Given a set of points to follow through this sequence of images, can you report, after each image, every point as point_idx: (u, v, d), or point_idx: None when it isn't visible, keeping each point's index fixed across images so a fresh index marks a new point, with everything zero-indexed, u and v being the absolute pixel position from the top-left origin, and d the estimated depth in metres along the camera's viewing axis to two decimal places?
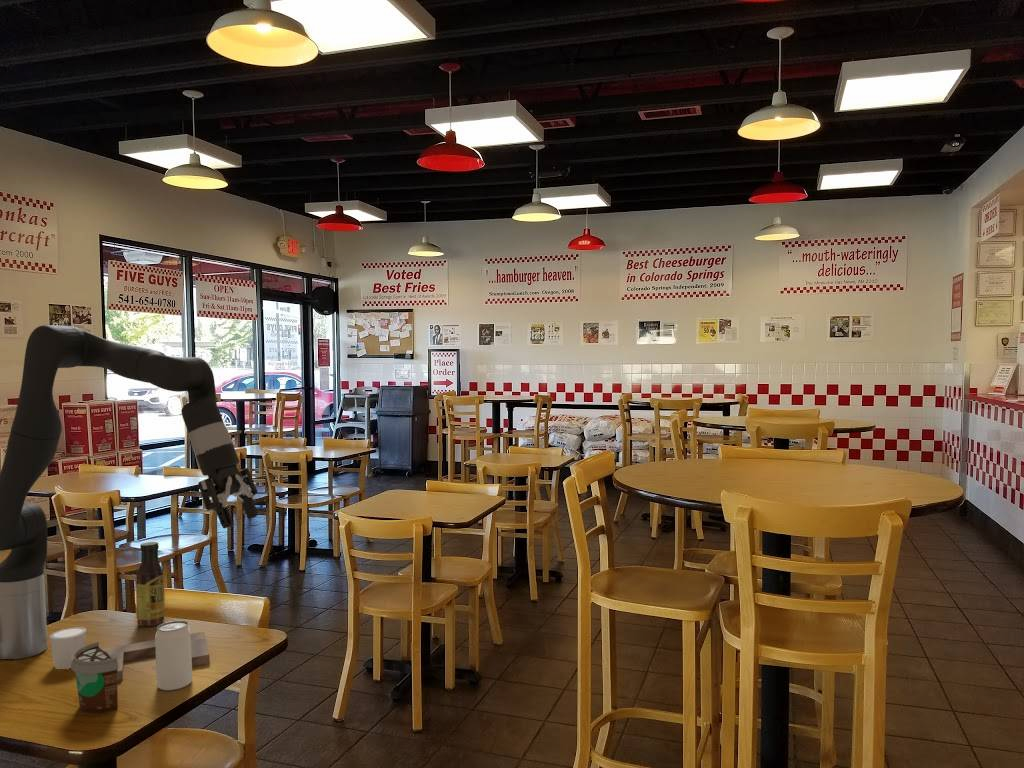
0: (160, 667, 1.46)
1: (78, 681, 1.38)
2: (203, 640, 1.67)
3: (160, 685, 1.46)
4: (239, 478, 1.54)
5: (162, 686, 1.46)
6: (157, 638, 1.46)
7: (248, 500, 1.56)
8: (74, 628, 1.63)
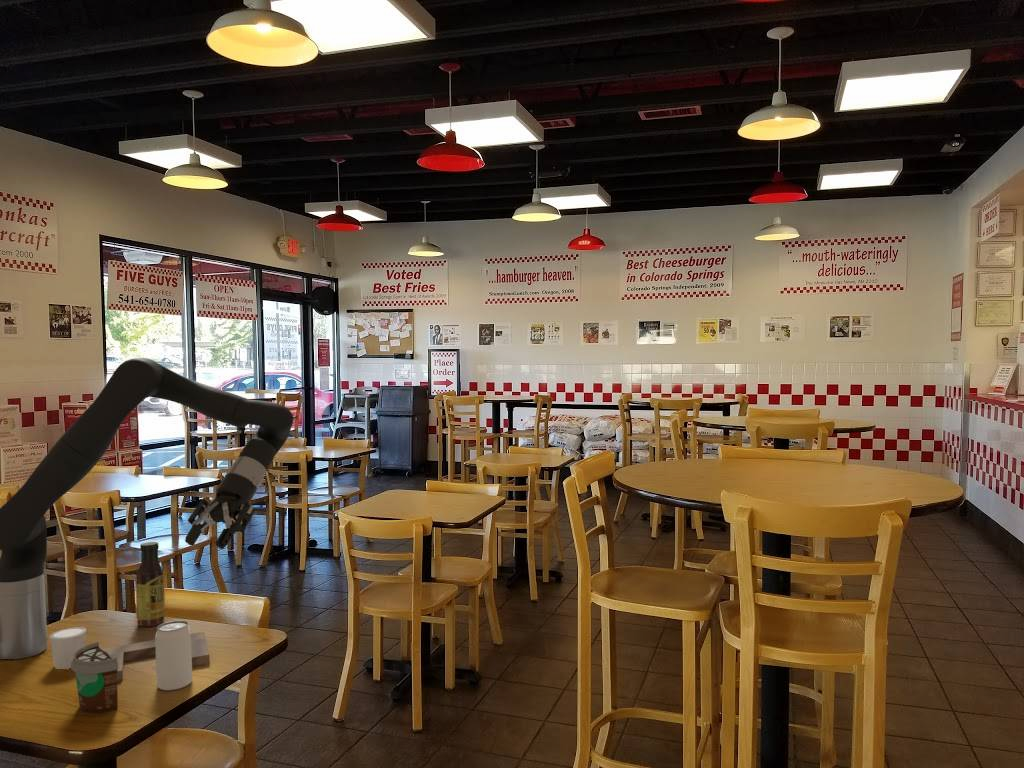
0: (160, 667, 1.46)
1: (78, 681, 1.38)
2: (203, 640, 1.67)
3: (160, 685, 1.46)
4: None
5: (162, 686, 1.46)
6: (157, 638, 1.46)
7: (200, 529, 1.60)
8: (74, 628, 1.63)
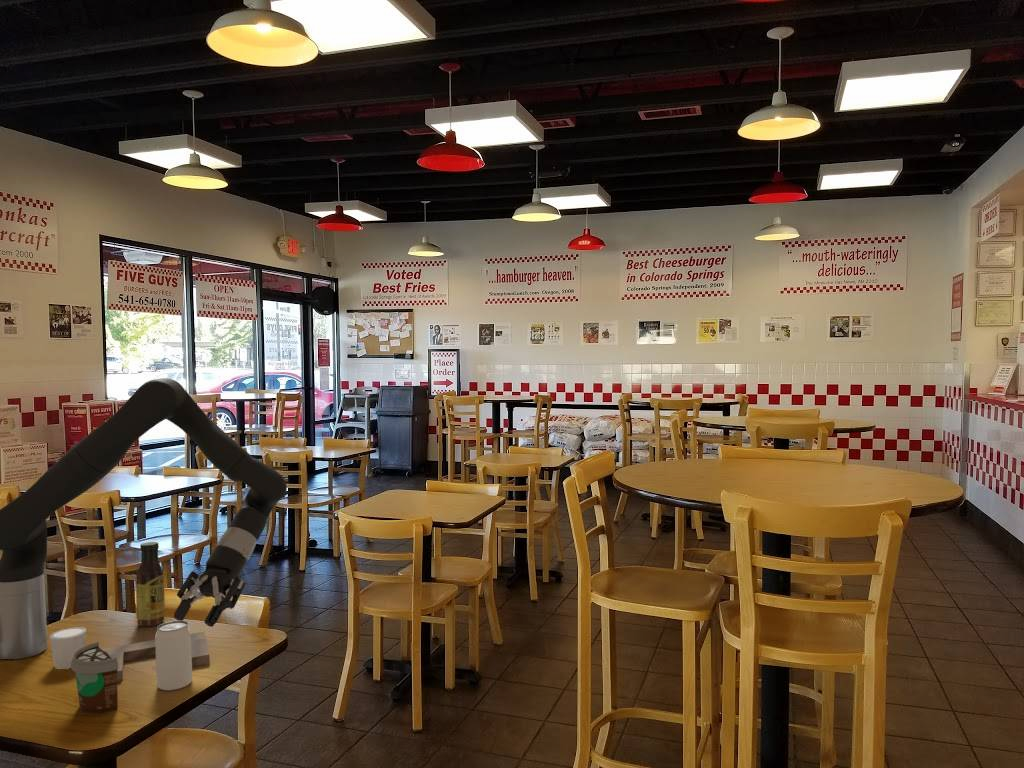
0: (160, 667, 1.46)
1: (78, 681, 1.38)
2: (203, 640, 1.67)
3: (160, 685, 1.46)
4: None
5: (162, 686, 1.46)
6: (157, 638, 1.46)
7: (189, 604, 1.57)
8: (74, 628, 1.63)
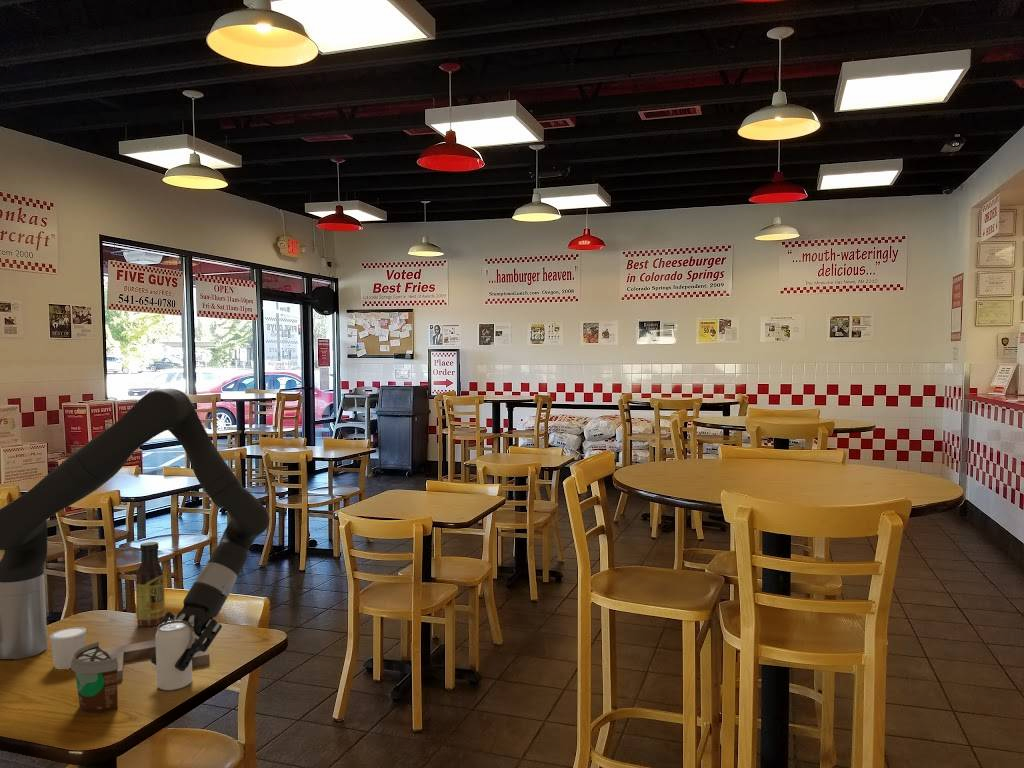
0: (160, 667, 1.46)
1: (78, 681, 1.38)
2: None
3: (160, 685, 1.46)
4: None
5: (162, 686, 1.46)
6: (157, 638, 1.46)
7: None
8: (74, 628, 1.63)
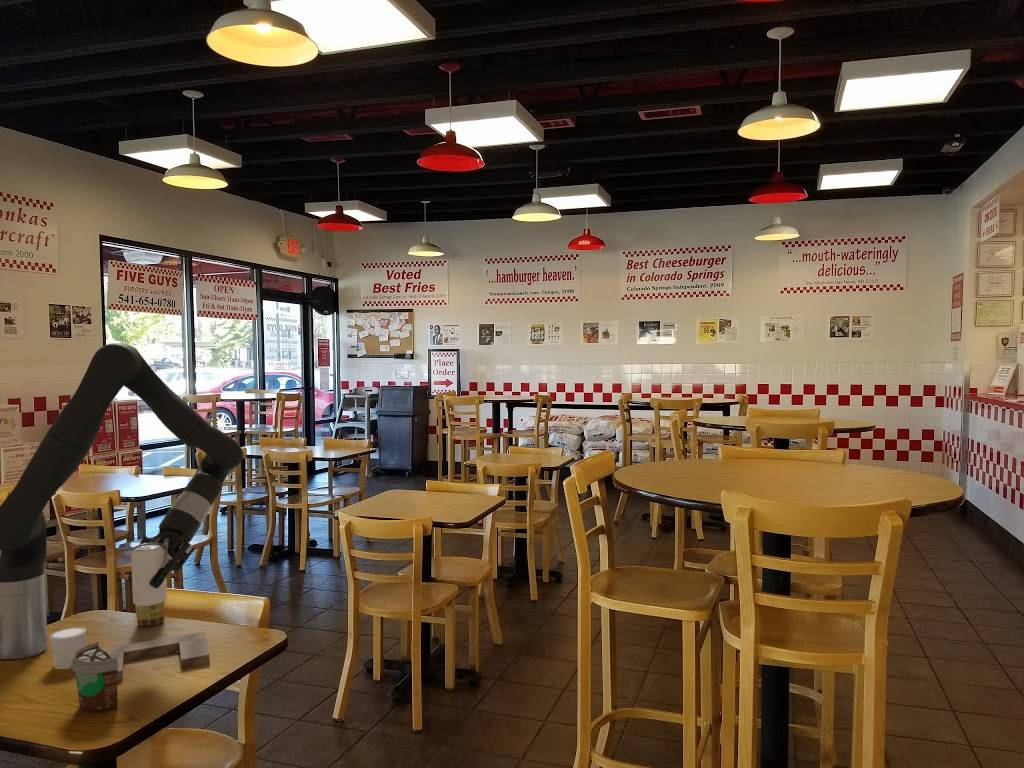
0: (135, 584, 1.55)
1: (78, 681, 1.38)
2: (203, 640, 1.67)
3: (136, 601, 1.55)
4: None
5: (138, 602, 1.55)
6: (133, 557, 1.55)
7: None
8: (74, 628, 1.63)
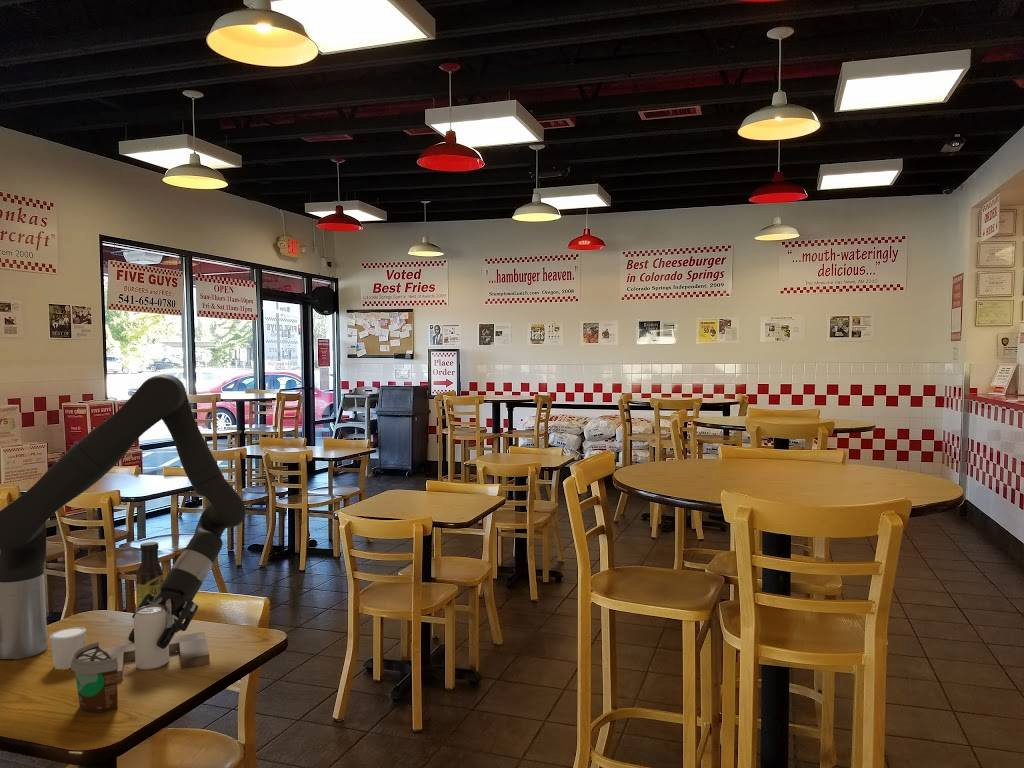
0: (138, 648, 1.56)
1: (78, 681, 1.38)
2: (203, 640, 1.67)
3: (138, 664, 1.56)
4: None
5: (140, 666, 1.56)
6: (135, 620, 1.56)
7: None
8: (74, 628, 1.63)
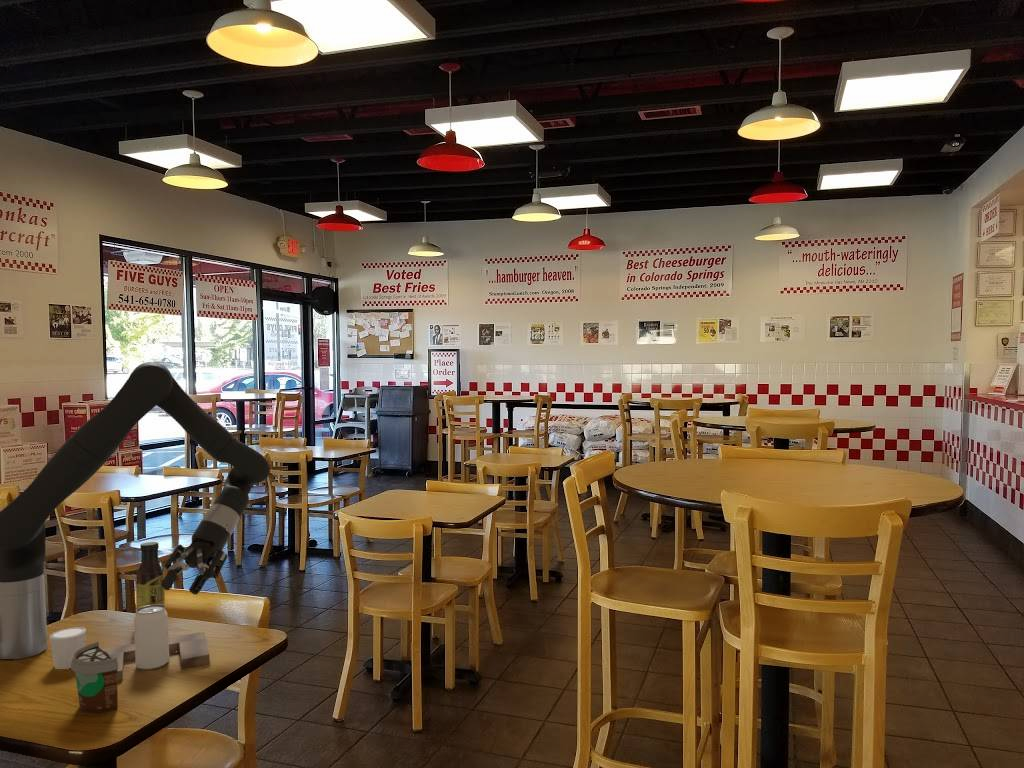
0: (138, 648, 1.56)
1: (78, 681, 1.38)
2: (203, 640, 1.67)
3: (138, 664, 1.56)
4: None
5: (140, 665, 1.56)
6: (135, 620, 1.56)
7: (175, 574, 1.69)
8: (74, 628, 1.63)
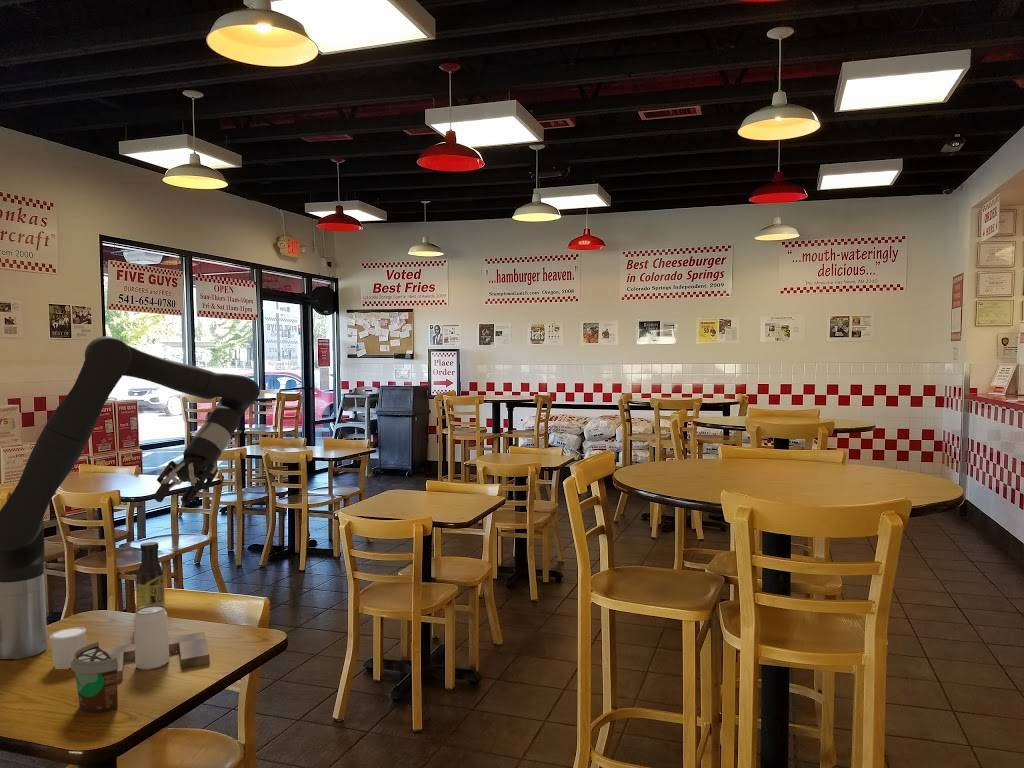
0: (138, 648, 1.56)
1: (78, 681, 1.38)
2: (203, 640, 1.67)
3: (138, 664, 1.56)
4: None
5: (140, 666, 1.56)
6: (135, 620, 1.56)
7: (167, 488, 1.74)
8: (74, 628, 1.63)
